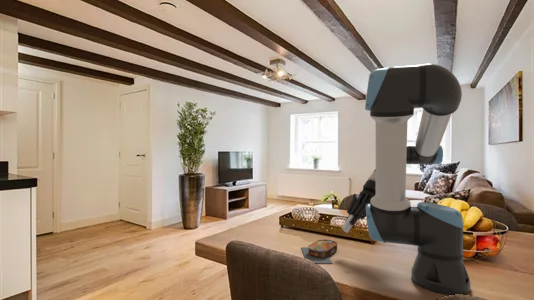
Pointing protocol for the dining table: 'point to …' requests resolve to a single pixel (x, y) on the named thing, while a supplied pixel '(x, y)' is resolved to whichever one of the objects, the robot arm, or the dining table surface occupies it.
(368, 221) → the robot arm
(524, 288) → the dining table surface
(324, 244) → the tin
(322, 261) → the mat
